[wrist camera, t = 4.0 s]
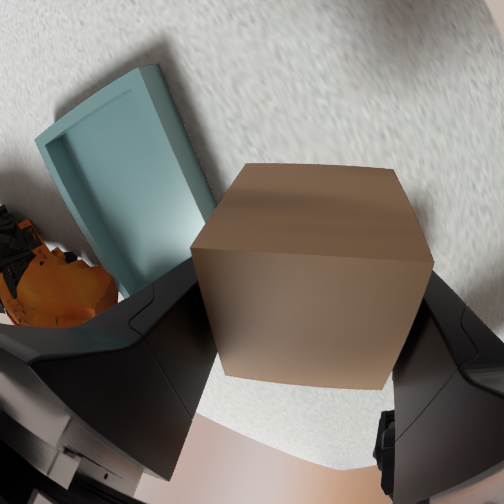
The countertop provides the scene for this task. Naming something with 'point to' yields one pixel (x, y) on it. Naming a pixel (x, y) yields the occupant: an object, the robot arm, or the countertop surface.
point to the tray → (130, 177)
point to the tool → (47, 280)
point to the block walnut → (312, 274)
